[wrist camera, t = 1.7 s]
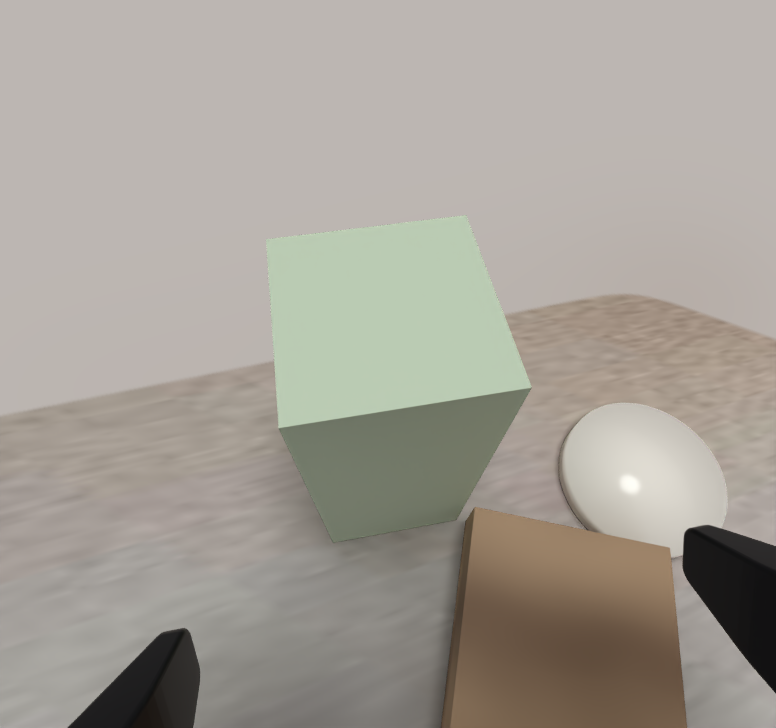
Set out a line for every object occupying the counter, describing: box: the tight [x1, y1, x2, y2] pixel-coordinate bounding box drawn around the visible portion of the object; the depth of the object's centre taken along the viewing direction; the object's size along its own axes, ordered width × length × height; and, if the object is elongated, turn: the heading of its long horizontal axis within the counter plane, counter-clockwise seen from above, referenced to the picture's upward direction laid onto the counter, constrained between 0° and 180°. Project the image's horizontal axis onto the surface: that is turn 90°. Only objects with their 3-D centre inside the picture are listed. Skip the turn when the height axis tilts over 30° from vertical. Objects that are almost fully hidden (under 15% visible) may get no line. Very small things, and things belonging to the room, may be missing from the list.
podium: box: [441, 507, 687, 728], centre depth 17 cm, size 9×8×2 cm
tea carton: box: [266, 215, 532, 543], centre depth 17 cm, size 6×6×12 cm
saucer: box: [559, 403, 728, 559], centre depth 22 cm, size 7×7×1 cm
